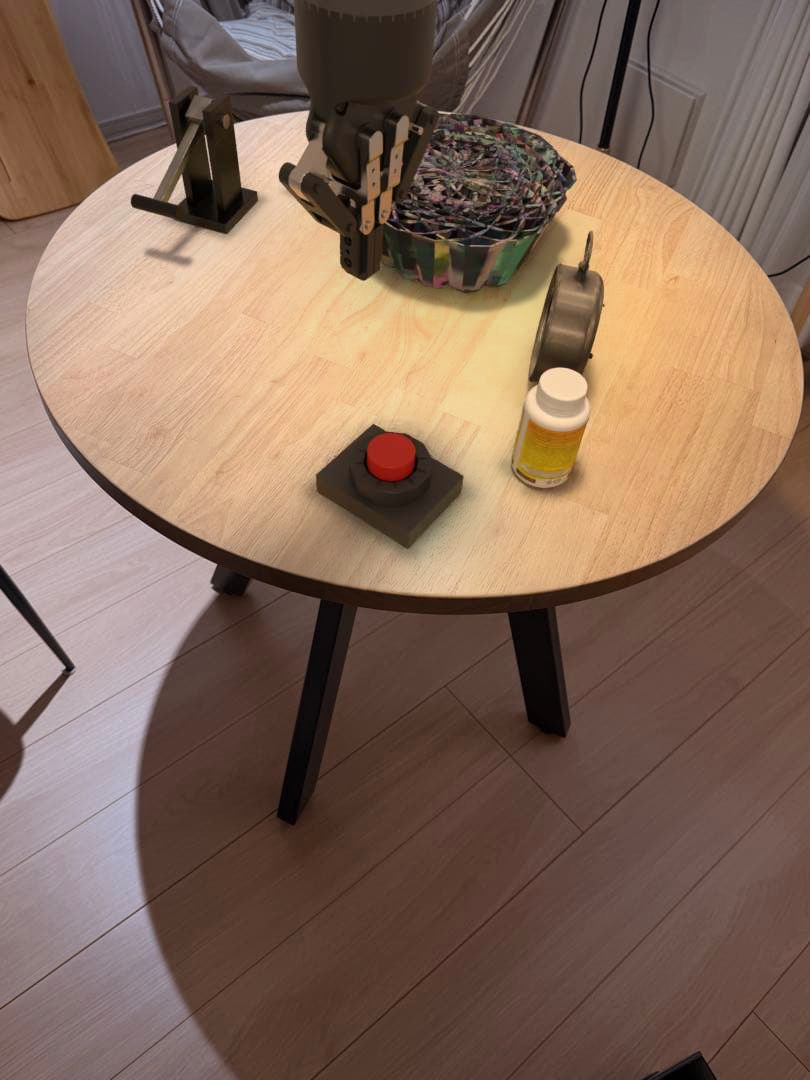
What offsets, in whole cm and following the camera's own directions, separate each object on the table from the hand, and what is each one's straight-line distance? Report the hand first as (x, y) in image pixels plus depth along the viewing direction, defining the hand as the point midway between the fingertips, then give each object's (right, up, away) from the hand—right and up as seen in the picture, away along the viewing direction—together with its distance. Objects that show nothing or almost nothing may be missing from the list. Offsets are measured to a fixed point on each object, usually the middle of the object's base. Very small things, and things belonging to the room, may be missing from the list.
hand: (361, 271), depth 54 cm
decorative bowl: (+9, +17, +39) cm, 44 cm away
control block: (+2, -14, +15) cm, 21 cm away
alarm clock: (+18, -3, +25) cm, 31 cm away
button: (+2, -12, +12) cm, 17 cm away
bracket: (-20, +21, +40) cm, 49 cm away
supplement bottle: (+15, -12, +18) cm, 26 cm away
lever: (-21, +22, +31) cm, 44 cm away
